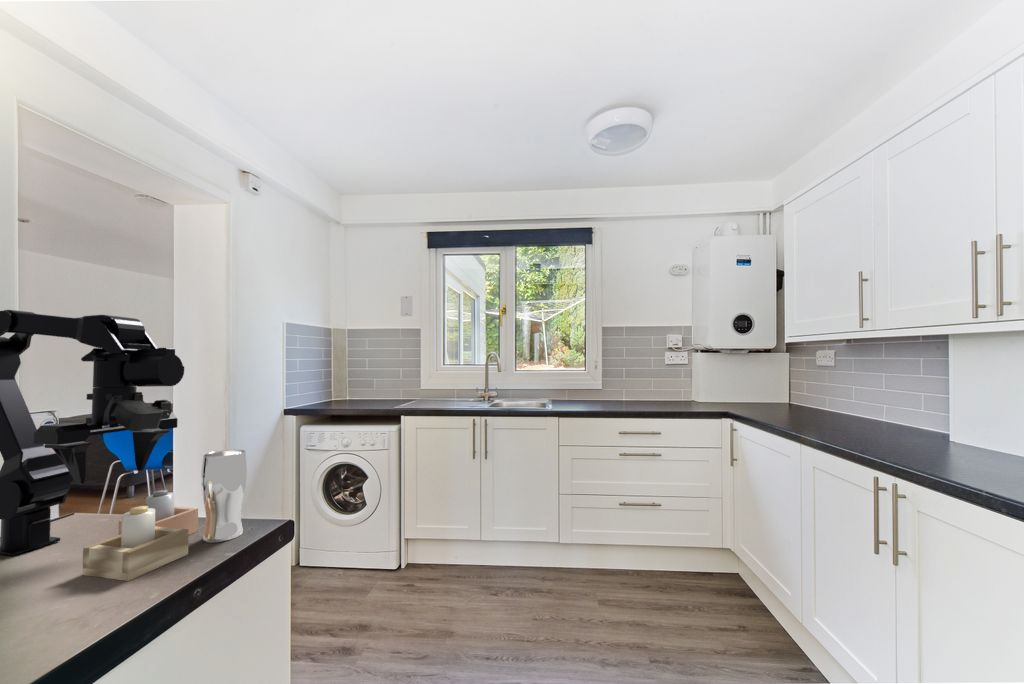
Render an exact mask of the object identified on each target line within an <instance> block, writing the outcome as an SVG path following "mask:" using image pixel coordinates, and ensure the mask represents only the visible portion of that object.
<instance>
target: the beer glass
mask: <svg viewBox="0 0 1024 684" xmlns="http://www.w3.org/2000/svg"><path fill="white" fill-rule="evenodd" d="M246 452H247V451H246V450H245V449H226V450H225V449H224V450H218V451H217V450H216V451H211V452H210V451H209V452H207V453H204V454H203V455H202V464H201V475H200V488H201V496H202V501H203V505H204V511H205V528H204V531H203V535H202V540H203V542H205V543H208V544H209V543H210V544H214V543H221V542H222V543H223V542H226V541H230V540H234V539H236V538H239V537H240V536H241V535H243V532H244V529H243V524H242V517H241V515H242V513H241V512H242V505H243V500H244V496H245V492H246V485H247V474H248V473H247V455H246V454H247V453H246Z"/></svg>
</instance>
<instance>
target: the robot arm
mask: <svg viewBox="0 0 1024 684" xmlns="http://www.w3.org/2000/svg"><path fill="white" fill-rule="evenodd" d="M6 333H9V334H10V333H11V334H12V333H13V334H12V335H11V336H10V337H9V338H8V337H4V335H5V334H6ZM34 335H40V336H50V337H59V338H66V339H68V338H69V339H73V340H76V341H78V343H81V344H84V345H88V346H89V347H93V348H92V349H91V350H90V351H89V352H88V353H86V354H85V355H84V356H81V359H80V360H81V362H93V368H92V369H93V371H92V393H87V394H86V401H88V400H89V401H92V402H91V417H86V418H85V423H84V422H63V423H62V422H61V423H60V422H59V423H53V424H43V425H40V426H39V427H38V428H37V427H36V424H35V421H34V419H33V418H32V415H31V412H30V411H29V408H28V406H27V404H26V401H25V398H24V397H23V394H22V392H21V390H20V387H19V385H18V383H17V380H16V375H17V373H18V371H19V368H20V366H21V364H22V362H21V358H20V355H22V354H23V353H25V351H26V350H28V349H29V348H30V346H31V341H32V338H33V336H34ZM184 374H185V366H184V364H183V362H182V359H181V358H180V357H179V356H178V355H176V349H175V348H174V347H157V344H155V342H154V341H153V340H152V338H151V337H150V335H149V334H148V332H147V330H146V329H145V326H144V325H143V323H142V320H140V319H138V318H135V317H134V318H133V317H125V316H116V315H109V314H92V315H84V316H80V317H68V316H59V315H49V314H48V315H47V314H40V313H35V312H32V311H25V310H17V309H16V310H15V309H14V310H13V309H4V310H0V454H1V458H2V459H3V463H2V466H1V468H0V555H4V556H16V555H20V554H23V553H26V552H29V551H32V550H34V549H38V548H41V547H45V546H47V545H48V546H49V545H50V544H54V543H57V542H60V541H61V537H59V536H51V525H52V524H51V523H52V522H51V520H52V519H51V512H52V511H51V510H52V509H51V507H53V506H57V505H62V504H64V503H65V502H66V500H67V497H68V495H69V493H70V489H71V486H72V484H73V483H74V482H75V483H76V484H77V485H84V484H85V482H86V477H87V476H86V475H87V471H86V470H87V461H86V460H87V451H88V450H89V448H90V446H91V445H92V444H93V443H92V442H86V440H87V439H88V438H89V437H90V436H96V435H103V434H111V433H118V432H125V431H129V432H132V433H131V435H132V443H133V452H134V462H135V467H136V470H137V472H141V471H142V472H143V471H144V470H145V468H146V466H147V464H148V461H149V459H150V457H151V455H152V453H153V450H154V448H155V447H156V446H157V443H158V441H159V440H161V439H162V437H164V436H165V435H166V434H170V433H171V429H175V428H178V421H179V420H178V417H177V416H176V415H175V413H174V412H172V402H171V401H170V400H167V399H158V400H155V401H154V402H145V401H144V394H143V392H142V391H137V387H139V388H140V387H146V388H148V387H173V386H176V385H178V384H179V383H180V382H181V380H182V379H183V377H184ZM49 449H52V450H53V451H54V452H52V451H50V450H49Z"/></svg>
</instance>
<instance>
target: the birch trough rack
mask: <svg viewBox="0 0 1024 684" xmlns="http://www.w3.org/2000/svg"><path fill="white" fill-rule="evenodd" d="M189 538H190V537H189V529H178V528H167V527H156V526H155V540H153V541H150V542H147V543H145V544H142V545H140V546H137V547H134V548H123V547H121V535H115V536H113V537H110V538H107V539H103V540H101V541H98V542H95V543H91V544H89V545H87V546H84V547H82V576H87V577H88V576H90V577H97V578H102V579H103V578H104V579H111V580H118V581H119V580H120V581H125V582H129V581H131V580H133V579H136V578H138V577H140V576H143V575H145V574H147V573H149V572H152V571H153V570H156V569H158V568H161V567H162V566H165V565H167V564H169V563H171V562H173V561H176V560H178V559H181V558H183V557H185V556H187V555H189Z"/></svg>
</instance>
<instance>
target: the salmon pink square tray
mask: <svg viewBox="0 0 1024 684" xmlns="http://www.w3.org/2000/svg"><path fill="white" fill-rule="evenodd" d="M155 526H156V527H167V528H178V529H189V535H192V534H194V533H197V532H198V531H199V528H198V527H199V508H196V507H195V508H194V507H187V506H186V507H182V506H174V516H171V517H168V518H165V519H162V520H159V521H156V522H155ZM117 532H118V535H121V532H122V519H119V520H118V531H117ZM118 535H117V536H118Z"/></svg>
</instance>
